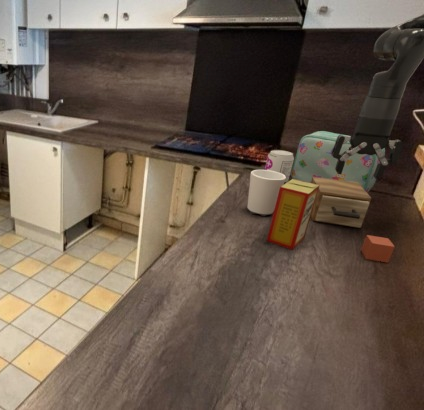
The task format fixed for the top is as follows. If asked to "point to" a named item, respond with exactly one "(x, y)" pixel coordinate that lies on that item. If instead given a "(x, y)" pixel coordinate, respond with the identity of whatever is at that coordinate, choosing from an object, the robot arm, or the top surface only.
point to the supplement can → (280, 162)
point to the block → (377, 248)
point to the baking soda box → (292, 213)
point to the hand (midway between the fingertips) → (356, 175)
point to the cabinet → (337, 192)
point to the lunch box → (332, 161)
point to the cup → (264, 191)
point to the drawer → (342, 210)
